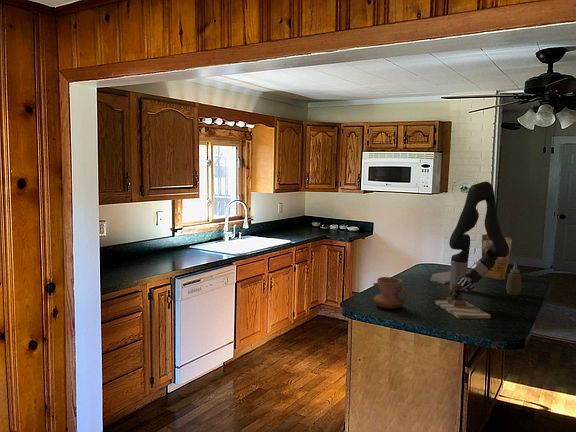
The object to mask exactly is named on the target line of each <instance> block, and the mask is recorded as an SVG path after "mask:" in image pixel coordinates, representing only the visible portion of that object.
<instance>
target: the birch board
mask: <svg viewBox="0 0 576 432" xmlns="http://www.w3.org/2000/svg"><path fill="white" fill-rule="evenodd" d="M446 300H447V299H442V300H441V299H437V300H436V299H435V300H434V303H435V304H436V305H437V306H438V307H440V308H442V309H443V310H445V311H446V312H448V313H449V314H451V315H452V316H454V317H456V318H457V319H459V320H461V319H462V320H466V319H473V320H474V319H491V316H492V315H491V314H489V313H487V312H486V311H484V310H483V309H481V308H479V307H477V306H475V305H473V304H471V303H470V302H469V301H466V307H454V306H453V305H451V304H449V303H448V302H446Z"/></svg>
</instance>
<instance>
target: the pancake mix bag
mask: <svg viewBox="0 0 576 432" xmlns="http://www.w3.org/2000/svg"><path fill="white" fill-rule="evenodd" d="M504 238H505V240H506V242H507V244H508V247H509V253H508V255H507V256H506V257H498V258H497V259H496V261H495V265H494V266H493V267H492V268H491V269H490V270H489V271H488V272H487V273H486V275H485V276H484V278H489V279H495V280H502V281H503V280H506V274H507V273H506V272H507V271H508V270H507V269H508V265H509V261H510V256H511V252H512V245H513V238H512V237H508V236H504ZM492 245H493V243H492V241H491V240H490V239H489V238H488V235H487V233H486V234H485V233H484V234H481V258H482V257H483V256H484V255H485V253H486V251H487V250H488V249H489V248H490V247H491V246H492Z"/></svg>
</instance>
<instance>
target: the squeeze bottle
mask: <svg viewBox="0 0 576 432" xmlns="http://www.w3.org/2000/svg"><path fill="white" fill-rule="evenodd" d="M505 288H506V293H507V294H508V295H510V296H519V295H520V293H521V291H522V275H521V273H520V269H518V263H516V262H515V263H514V264H513V267H512V268H510V272H508V275H507V281H506V285H505Z"/></svg>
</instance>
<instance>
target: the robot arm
mask: <svg viewBox="0 0 576 432" xmlns="http://www.w3.org/2000/svg"><path fill="white" fill-rule="evenodd" d="M495 196H496V195H495V190H494V187H493V185H492V183H491V182H489V181H481V182H478V183H475V184H471V186H470V187H469V188H468V191H467V195H466V199H465V202H464V206H463V208H462V211H461V212H460V216H459V218H458V220H457V224H456V226H455V228H454V230H453V232H452V234H451V235H450V238H449V242H448V243H449V247H450V248H451V249H452V250H456V251H457V250H459V251H460V252H458V253H456V254H453V255H451V259H450V260H451V262H450V271H451V272H450V283H449V287H448V289H449V290H450V292H449V295H451V294H452V284H460V285H461V287H460V288H459V290H458V291H456V292H455V293H454V294H453V296H454V297H455V298H457V297H458V296H459V295H460V294H461V293H462V294H466V293H468V292H469V291H471V290H473V289H474V288H475V286H474V284H475V285H476V284H477V283H479V282H480V281H481V280H482V279H483V277H484V276H485V275H486V273H487V272H488V271H489V270H490V269H491V268H492V267H493V266H494V265H495V261H496V259H497V258H498V257H506V256H507V255H508V253H509V247H508V244H507V242H506V240H505V238H504V237H505V236H504V235H503V231H502V228H501V225H500V221H499V218H498V212H497V203H496V197H495ZM483 201H485V203H486V212H485V218H484V228H485V232H486V234H487V235H488V238H489V239H490V240H491V241H492V243H493V245H492V246H491V247H490V248H489V249H488V250H487V251H486V253H485V255H484V256H483V257H482V256H481V257H480V259H478V260H477V261H476V262H475V263H474V264H472V266H471V267H469V268H468V266H469V256H470V248H471V236H470V235H469V233H468V232H469V231H471V230H472V229H473V228H475V226H476V225H477V222H478V220H479V217H480V214H479V211H478V209H477V206H478V204H479V203H480V202H483ZM467 233H468V234H467ZM484 278H485V277H484Z"/></svg>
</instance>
